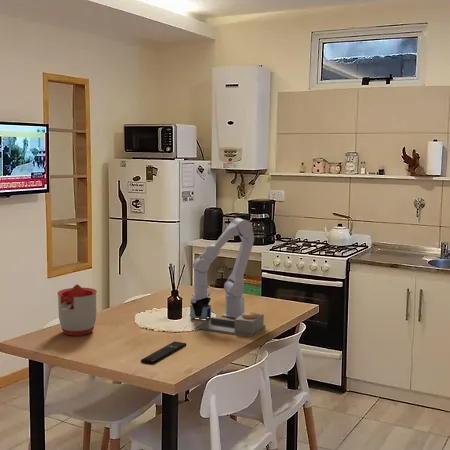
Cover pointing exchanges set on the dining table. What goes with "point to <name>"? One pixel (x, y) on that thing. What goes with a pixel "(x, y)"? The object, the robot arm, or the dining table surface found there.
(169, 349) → the remote control
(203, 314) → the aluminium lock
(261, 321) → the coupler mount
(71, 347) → the dining table surface
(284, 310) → the dining table surface
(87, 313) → the citrus juicer
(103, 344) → the dining table surface
